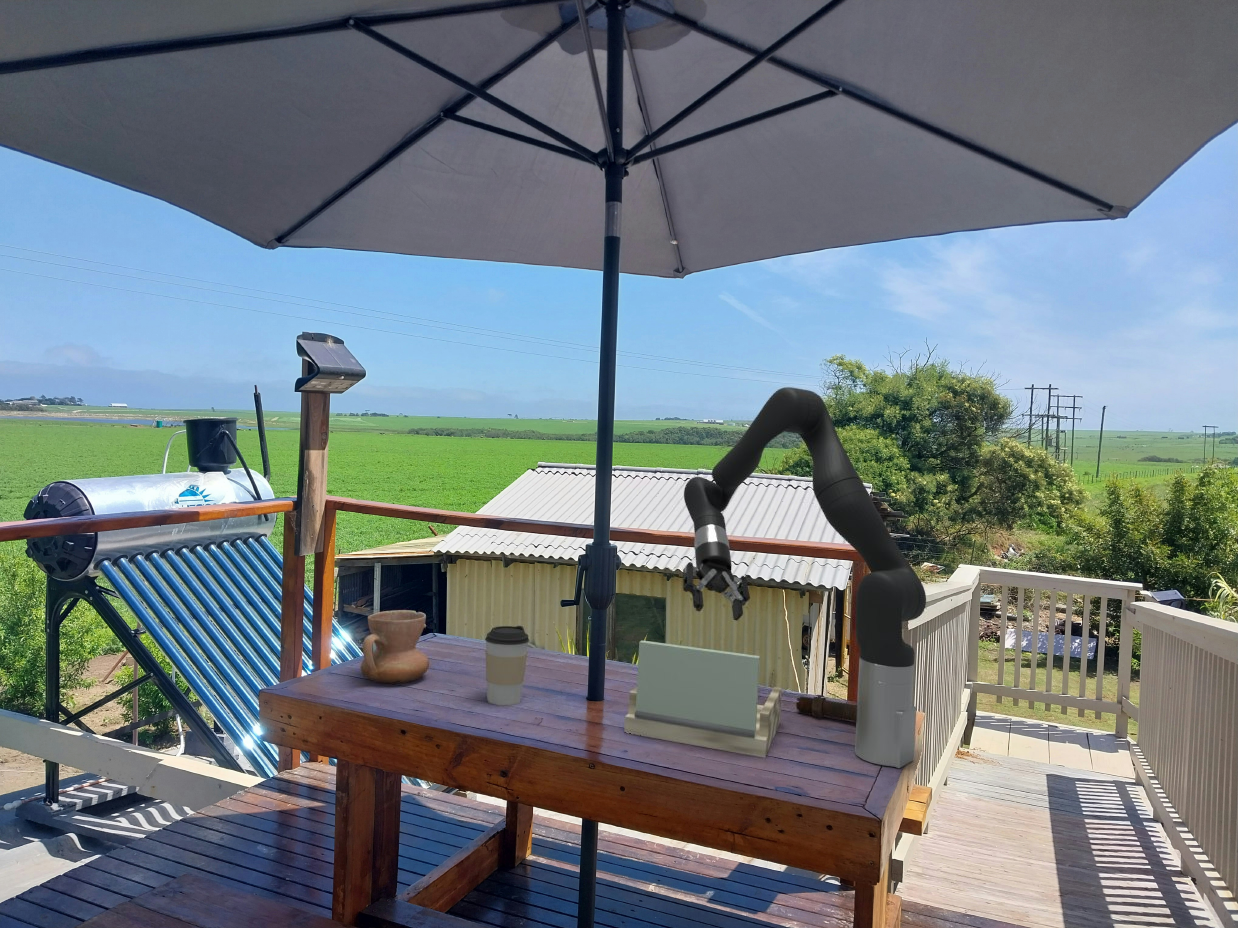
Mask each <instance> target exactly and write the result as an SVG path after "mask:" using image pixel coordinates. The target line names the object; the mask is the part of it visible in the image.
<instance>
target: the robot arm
mask: <svg viewBox="0 0 1238 928" xmlns="http://www.w3.org/2000/svg"><path fill="white" fill-rule="evenodd" d="M830 415H831V414H830V412H829V410H828V408H827V405H826V404H825V402H824V400H823V399H822V397H821V396H820V395H819V394H818V393H816V392H814V391H812V390H808V389H803V388H797V387H789V386H788V387H787V386H786V387H782V388H778V389H777V390H776V391H775V392H773V394H772V395H771V396H770V397H769V398H768V399H767V401H766V402H765V404H764V405H763V406H762V408H761V409H760V411H759V412H758V414H757V415H756V416H755V418H754V419H753V421H752V423H751V424H750V425H749V427H748V428H747V429H746V431H745V432H744V434H743V435H742V437H740V439H739V440H738V441H737V442H736V444H735V445H734V446H733V447H732V448H731V449H730V450H729V451H728V452H727V453H726V454H725V455H724V456H723V457H722V458H721V459H720V460H719V461H718V462H717V464H716V465H714V467H713V468H712V470H711V477H712V479H713V481H711V480H709V479H707V478H705V477H701V476H694V477H692V478H690V479H688V481H687V482H686V484H685V487H684V489H683V499H684V503H685V506H686V509H687V511H688V513H689V517H690V518H691V520H692V522H693V530H694V532H693V533H694V547H693V548H694V553H695V554H694V555H695V566H694V564H693V562H690V561H689V562H687V564H686V565H685V567H684V568H683V569H682V589H683V591H684V592H686V593H687V592H689V593H690V594H691V596H692V606H693V608H695V611H696V612H698V613H699V612H701V611H702V609H703V608H704V606H705V605H704V597H703V596H704V595H703V590H704V588H706V591H709V592H716V593H719V594H722V596H723V597H724V598H725V599H728V600H729V602H730V603H731V604H732V605H731V610H732V617H733V618H732V620H734V621H737V622H738V621H739V620H740V618H741V617H742V616H743V615H744V609H743V607H744V606H745V605H746V604H747V602H749V600H750V599H751V596H750V591H749V585H748V581H747V577H746V576H745V575H741V576H740V577H737V576H734V573H732V567H733V566H732V565H733V564H732V558H731V557H732V556H731V550H730V549H731V548H730V541H729V537H728V534H727V528H726V526H727V525H726V520H725V516H724V515H723V512H724V510H726V509H727V508H728V506H729V504H730V502H731V499H732V498H733V496H734V494H735V493H736V491H737V489H738V488H739V486H740V485H742V484H743V482H745V481H746V480H747V479H748V478H749V477H750V476H751V475H752V474H753V473H754V472H755V471H756V470H757V468H758V466H759V464H760V462H761V460H762V456H763V453H764V450H765V448H766V446H767V445H768V444H770V442H771V441H773V440H774V439H775V438H777V437H778V436H779V435H781V434H782V433H789V434H790V433H791V434H796V435H797V434H798V435H799V436H800V438H801V439H802V441H803V442H804V444H805V445H806V448H807V449H808V452H809V454H810V456H811V459H812V489H813V493H814V497H815V498H816V502H817V503H818V505H819V507H820V509H821V511H822V513H823V515H824V518H825V519H826V520H827V522H828V523H829V525H830V527H832V528H833V529H834V530H835V531H836V532H837V533H838V535H840V536H841V538H842V539H844V540H845V541H846V542H847V543H848V544H849V545H850V546H851V547H852V548H853V549H854V550H855V551H856V552H857V553H858V554H859V555H860V557H861V558H862V560H863V561H864V562H865V564H866V566H867V568H868V570H869V572H868V573H867V574H865V575H864V576H863V578H862V579H861V580H860V582H859V584H858V587H857V590H856V596H855V637H856V638H855V639H856V642H857V645H858V647H859V659H858V660H859V662H858V677H857V678H858V679H857V682H858V683H857V696H856V697H857V700H856V701H857V702H856V703H857V704H856V705H857V717H856V722H855V737H854V738H855V739H854V754H855V755H856V756H857V757H858V758H860V759H862V760H864V761H865V762H869V763H872V764H876V765H880V766H887V767H892V768H893V767H895V768H897V769H901V768H902V767H904V766H906V765H908V764H910V763H911V762H913V761H915V743H916V724H917V722H916V721H917V707H916V706H915V705H913V691H914V690H913V689H914V675H915V674H914V673H915V672H914V670H915V668H914V667H915V654H916V653H915V650H914V647H913V646H912V645H910V644H908V643H906V642H905V640H904V639H903V622H904V623H905V622H909V621H910V622H911V621H913V620H916V619H917V618H919V617H920V616H921V615H922V614H923V613H924V611H925V609H926V605H927V595H926V590H925V587H924V585H923V583H922V581H921V579H920V578H919V575H918V574H917V573H916V571H915V570H914V569H913V568H912V565H911V564H910V563H909V561H908V560H907V558H906V557H905V556H904V554H903V553H902V551H901V549H900V548H899V547H898V545H897V544H896V541H895V540H894V539H893V537H892V535H891V533H890V532H889V529H888V527H887V526H886V524H885V522H884V520H883V518H882V516H881V514H880V513H879V511H878V510H877V508H876V506H875V504H874V502H873V499H872V498H871V495H870V494H869V492H868V489H867V488H866V486H865V484H864V483H863V481H862V479H861V477H860V475H859V474H858V472H857V470H856V467H855V466H854V465H853V463H852V461H851V459H850V457H849V455H848V453H847V451H846V449H845V447H844V446H843V444H842V442H841V440H840V437H839V435H838V433H837V430H836V428H835V425H834V422H833V420H832V417H831V416H830ZM694 576H696V577H697V578H698V580H699V582H698V584H697V585H696V584H695V583H694ZM728 588H729V591H728V590H727V589H728Z"/></svg>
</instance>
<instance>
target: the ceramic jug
mask: <svg viewBox="0 0 1238 928" xmlns="http://www.w3.org/2000/svg"><path fill="white" fill-rule="evenodd" d="M426 619H427V616H426V613H424V612H421V611H418V612H416V610H409V609H408V610H407V609H403V610H402V609H398V610H386V611H384V610H383V611H380V612H375V613H374V614H370V615H368V616H367V624H368V628H369V629H368V630H369V631H370V634H369V635H367V636H366V637H364V640H363V642H362V654H363V658H364V659H363V660H362V661H361V664H360V670H361V673H362V674H363V676H365V677H366V678H367V679H369V680H371V681H374V682H378V683H384V684H400V683H401V684H402V683H408V682H411V681H412V682H413V681H414V680H417V679H420V678H421V677H422V676H423V675H425V674H426V673H427V671H428V669H429V667H430V659H429V657H428V656H427V655H426V654H425V653H424V652H422V651H421V650H419V649H418V648H417V647H416V646H417V645H418V643H419V640H420V638H421V635H422V633H423V631H424V629H426V627H427V625H426ZM374 645H375V647H376V649H375V650H374V651H373V646H374Z"/></svg>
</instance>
